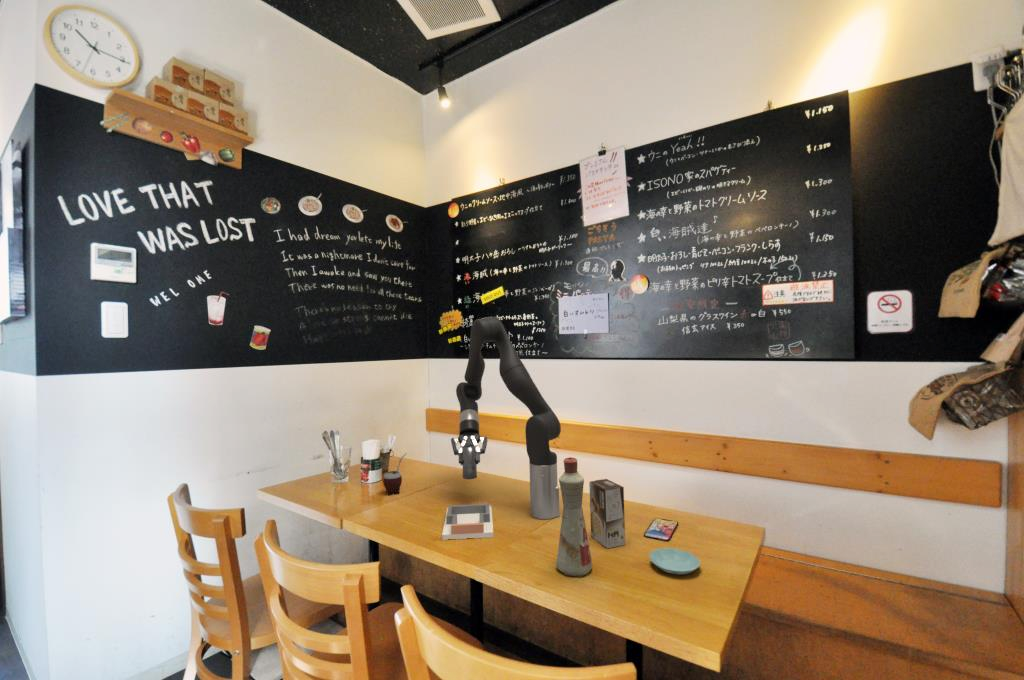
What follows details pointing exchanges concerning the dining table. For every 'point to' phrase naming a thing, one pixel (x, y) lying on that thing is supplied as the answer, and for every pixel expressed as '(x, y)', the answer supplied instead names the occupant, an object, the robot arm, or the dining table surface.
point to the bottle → (573, 524)
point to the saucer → (674, 561)
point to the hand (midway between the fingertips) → (469, 463)
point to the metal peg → (469, 462)
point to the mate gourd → (393, 480)
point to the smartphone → (661, 529)
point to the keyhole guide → (468, 522)
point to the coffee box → (607, 513)
